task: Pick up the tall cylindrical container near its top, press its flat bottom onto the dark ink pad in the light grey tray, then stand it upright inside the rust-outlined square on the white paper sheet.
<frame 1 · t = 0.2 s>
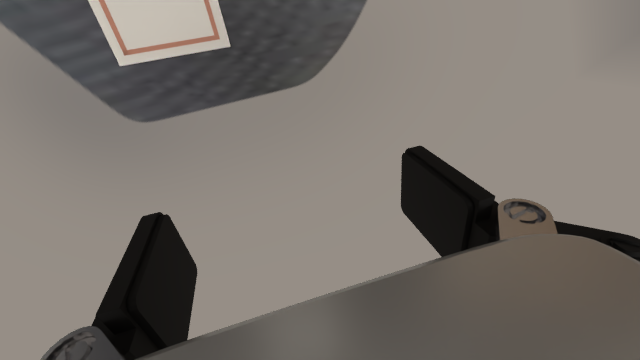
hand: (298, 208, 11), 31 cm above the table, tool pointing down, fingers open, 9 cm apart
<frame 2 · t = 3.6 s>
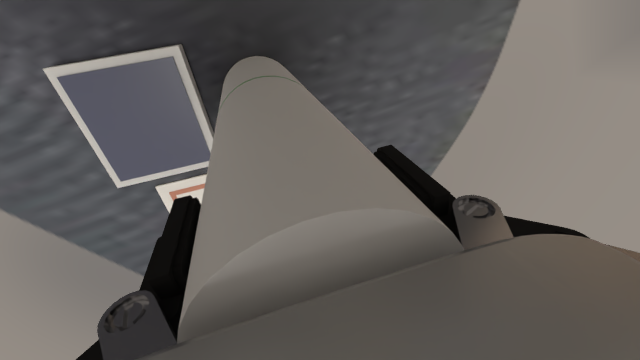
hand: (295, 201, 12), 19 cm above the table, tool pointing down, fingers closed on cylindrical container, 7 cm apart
cylindrical container: (260, 94, 28), on the table, touching gripper
marked paper: (235, 216, 34), on the table
ink pad: (150, 117, 26), on the table
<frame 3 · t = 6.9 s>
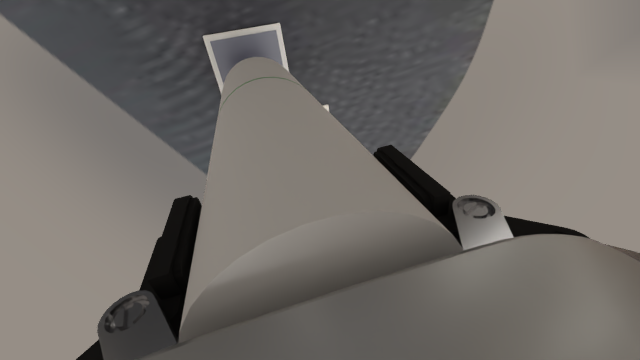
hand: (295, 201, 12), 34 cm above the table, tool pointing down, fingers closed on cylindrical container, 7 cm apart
cylindrical container: (260, 95, 28), point 15 cm above the table, touching gripper
ink pad: (252, 71, 40), on the table
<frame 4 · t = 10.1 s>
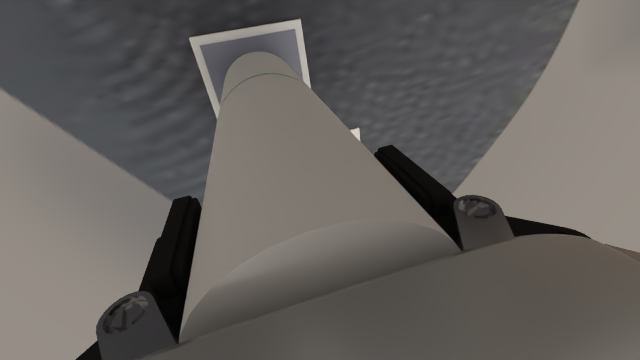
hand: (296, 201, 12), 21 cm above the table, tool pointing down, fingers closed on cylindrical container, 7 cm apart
cylindrical container: (261, 90, 28), point 2 cm above the table, touching gripper, ink pad
ink pad: (260, 86, 29), on the table
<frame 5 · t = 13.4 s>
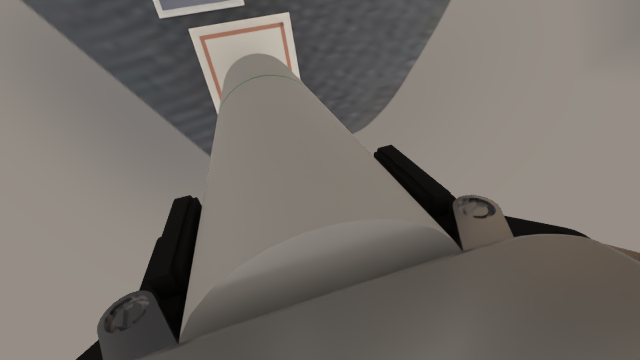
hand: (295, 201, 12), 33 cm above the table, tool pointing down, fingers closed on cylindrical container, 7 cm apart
cylindrical container: (261, 92, 28), point 14 cm above the table, touching gripper
marked paper: (253, 72, 40), on the table
when the fingers open (21 cm above the table, at t = 16.7 s): cylindrical container drops 1 cm, resting on marked paper.
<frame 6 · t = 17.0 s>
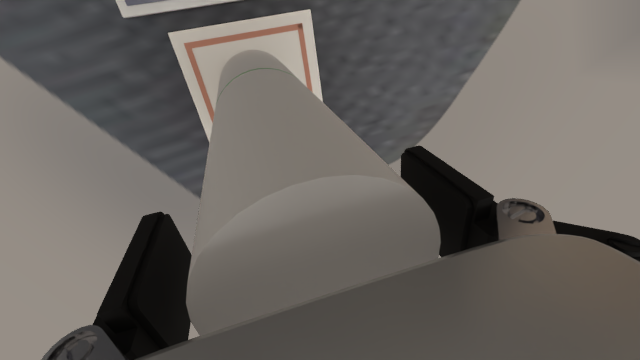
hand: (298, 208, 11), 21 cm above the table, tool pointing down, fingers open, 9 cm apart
cylindrical container: (256, 87, 29), resting on marked paper
marked paper: (259, 91, 29), on the table
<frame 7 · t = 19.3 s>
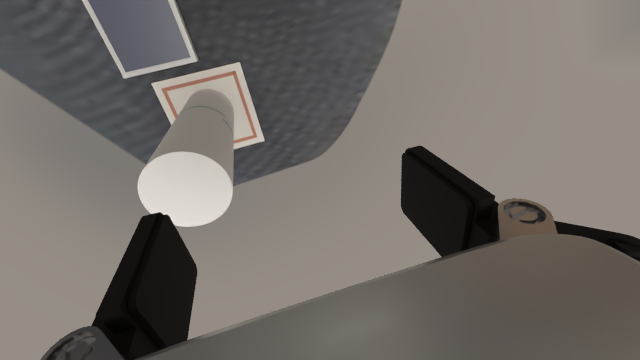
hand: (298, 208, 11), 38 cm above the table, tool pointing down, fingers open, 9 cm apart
cylindrical container: (210, 111, 44), resting on marked paper
marked paper: (213, 114, 45), on the table
ink pad: (144, 25, 37), on the table
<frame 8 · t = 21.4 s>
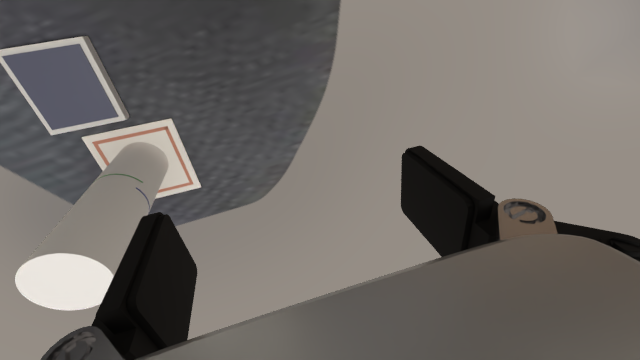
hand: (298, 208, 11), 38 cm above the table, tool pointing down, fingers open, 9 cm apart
cylindrical container: (144, 161, 46), resting on marked paper
marked paper: (147, 164, 46), on the table
ink pad: (71, 86, 39), on the table
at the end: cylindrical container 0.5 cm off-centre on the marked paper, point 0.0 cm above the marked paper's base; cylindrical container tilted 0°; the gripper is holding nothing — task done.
